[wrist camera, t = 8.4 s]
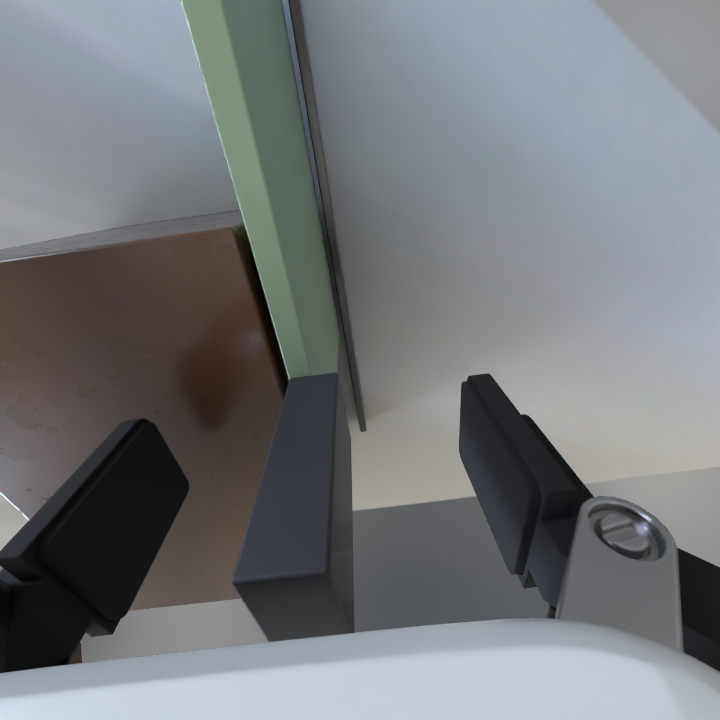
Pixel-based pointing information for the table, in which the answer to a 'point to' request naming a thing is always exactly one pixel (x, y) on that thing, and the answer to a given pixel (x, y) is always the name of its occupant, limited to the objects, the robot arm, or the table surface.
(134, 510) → the robot arm
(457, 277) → the table surface
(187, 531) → the cabinet
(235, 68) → the sliding door
